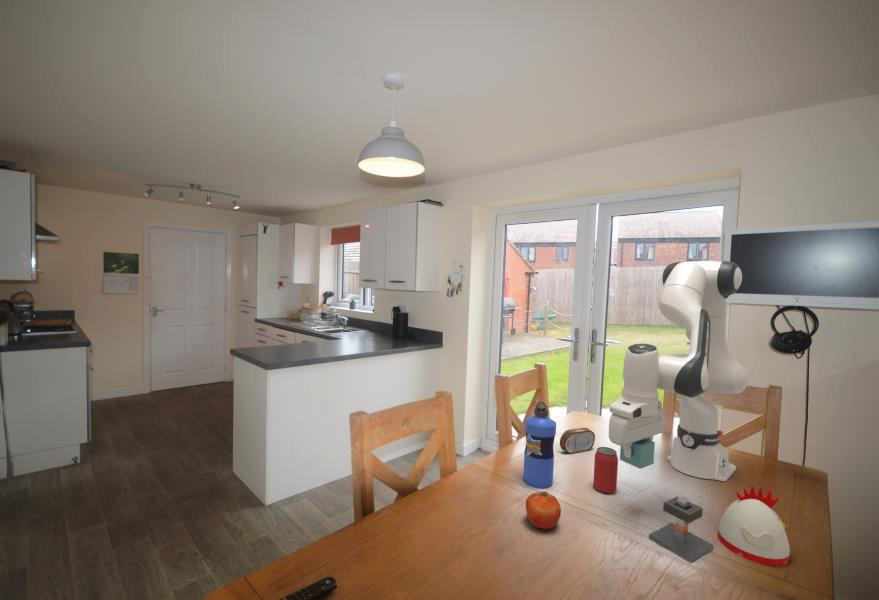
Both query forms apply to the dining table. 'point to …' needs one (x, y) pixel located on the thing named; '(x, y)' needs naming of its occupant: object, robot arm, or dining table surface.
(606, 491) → the beer can
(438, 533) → the dining table surface
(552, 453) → the water bottle
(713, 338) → the robot arm
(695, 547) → the pipe stand
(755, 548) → the kitchen timer
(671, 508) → the ring
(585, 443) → the tin
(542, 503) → the tomato
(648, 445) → the sleeve
